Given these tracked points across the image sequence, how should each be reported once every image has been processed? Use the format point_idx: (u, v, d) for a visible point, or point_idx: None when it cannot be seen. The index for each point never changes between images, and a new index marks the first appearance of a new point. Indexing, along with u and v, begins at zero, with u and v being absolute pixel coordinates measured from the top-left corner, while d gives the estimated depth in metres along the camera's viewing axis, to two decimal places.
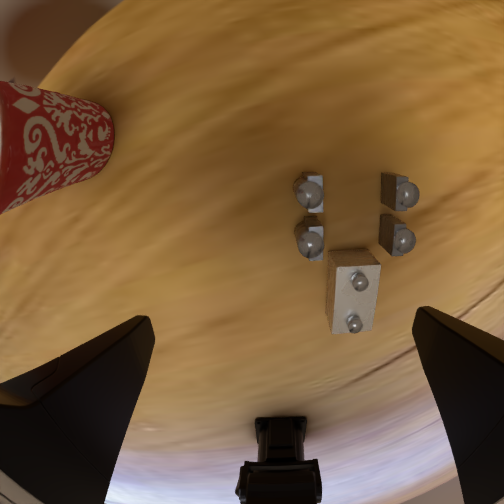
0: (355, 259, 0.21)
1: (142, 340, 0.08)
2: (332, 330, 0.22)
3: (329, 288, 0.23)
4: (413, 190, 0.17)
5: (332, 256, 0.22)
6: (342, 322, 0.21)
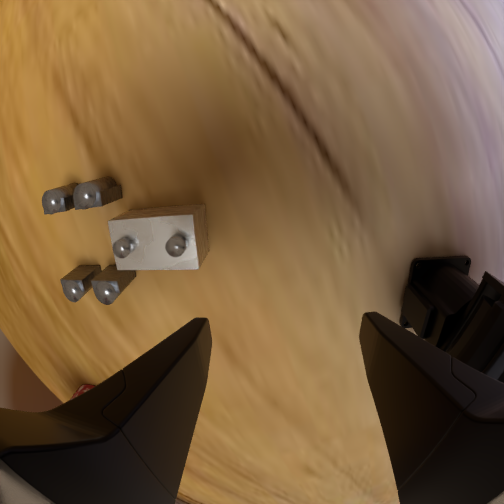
0: None
1: (204, 344, 0.08)
2: (194, 268, 0.18)
3: None
4: (45, 198, 0.16)
5: None
6: (180, 257, 0.17)
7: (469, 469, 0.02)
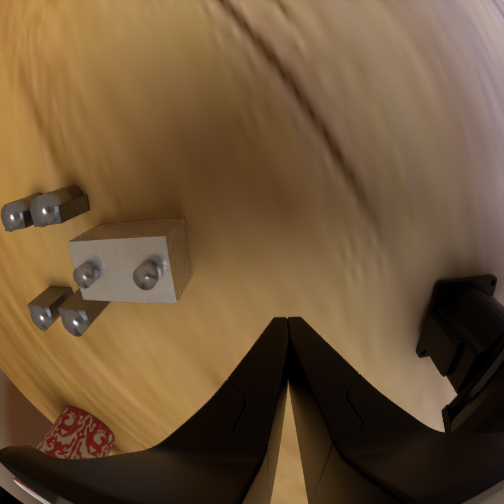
0: None
1: None
2: (171, 301, 0.14)
3: None
4: (4, 213, 0.12)
5: None
6: (153, 289, 0.13)
7: None
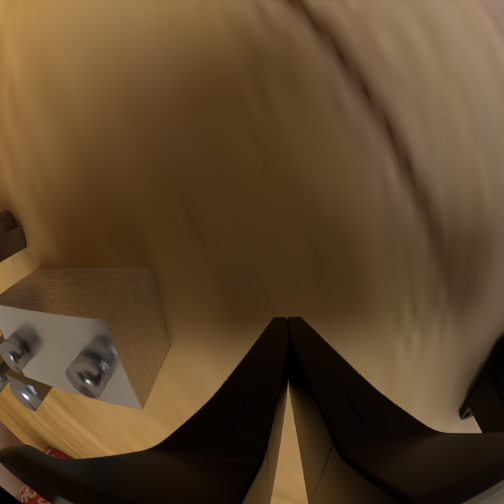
0: None
1: None
2: (134, 405, 0.07)
3: None
4: None
5: None
6: (104, 387, 0.07)
7: None
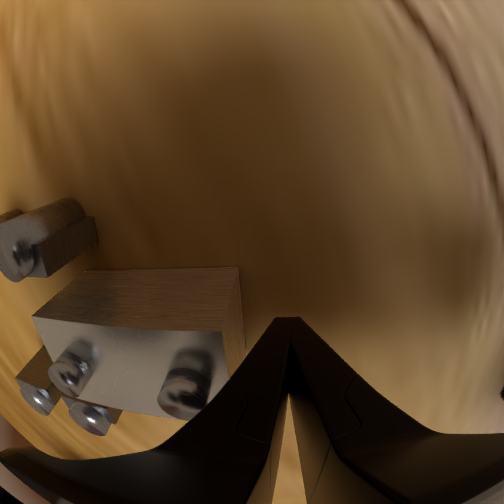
0: None
1: None
2: None
3: None
4: None
5: None
6: None
7: None
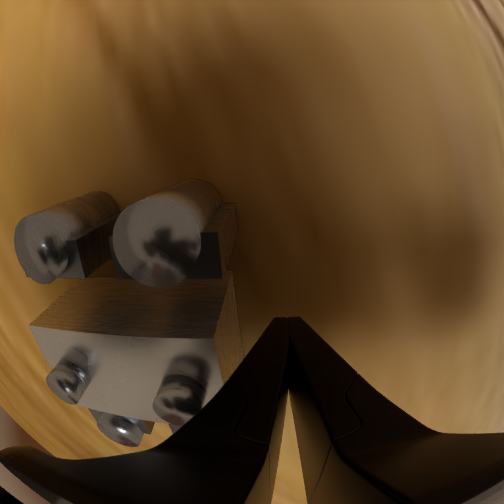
0: None
1: None
2: None
3: None
4: (23, 238, 0.05)
5: None
6: None
7: None
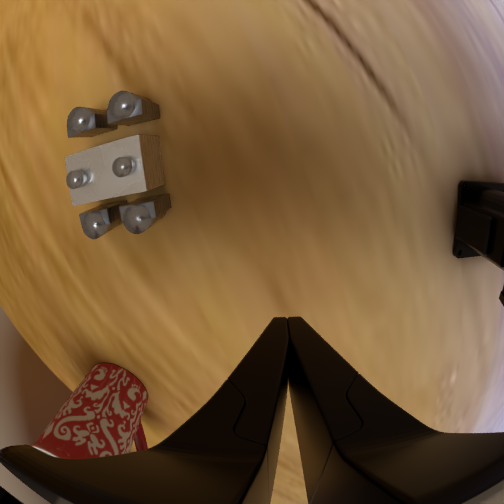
0: None
1: None
2: (142, 191, 0.16)
3: None
4: (72, 116, 0.14)
5: None
6: (128, 181, 0.16)
7: None
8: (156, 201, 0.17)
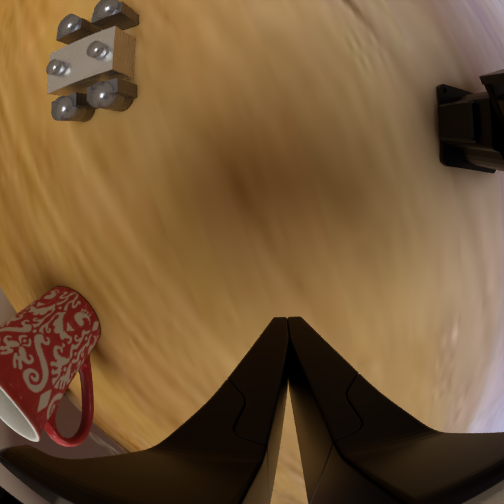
0: None
1: None
2: (108, 70, 0.13)
3: None
4: (63, 22, 0.11)
5: (64, 94, 0.16)
6: (98, 63, 0.13)
7: None
8: (121, 80, 0.14)
